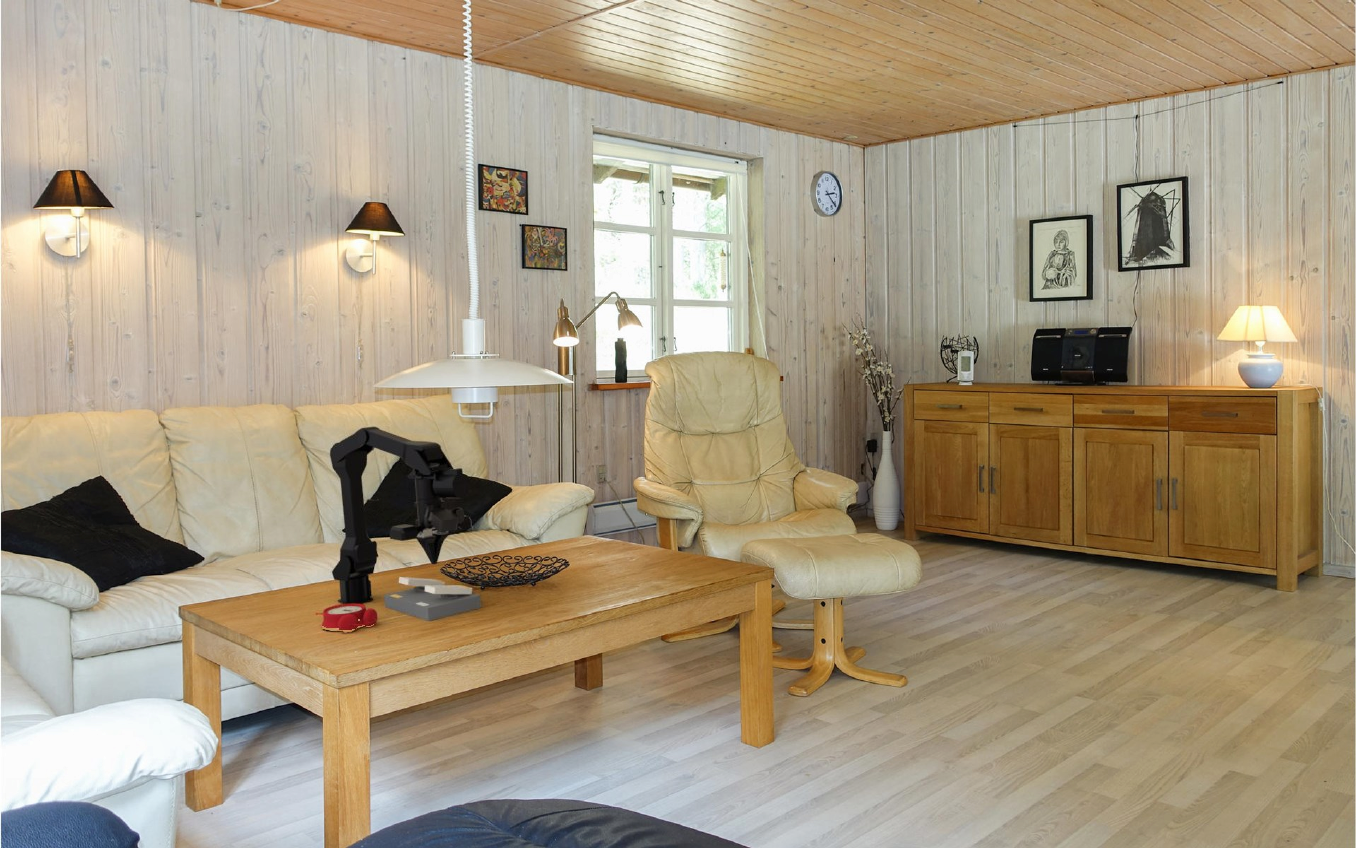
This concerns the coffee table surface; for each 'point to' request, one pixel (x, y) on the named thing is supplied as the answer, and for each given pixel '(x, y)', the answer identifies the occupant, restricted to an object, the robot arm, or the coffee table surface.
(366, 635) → the coffee table surface
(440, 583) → the bar
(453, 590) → the bar
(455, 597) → the switch box
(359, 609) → the alarm clock
